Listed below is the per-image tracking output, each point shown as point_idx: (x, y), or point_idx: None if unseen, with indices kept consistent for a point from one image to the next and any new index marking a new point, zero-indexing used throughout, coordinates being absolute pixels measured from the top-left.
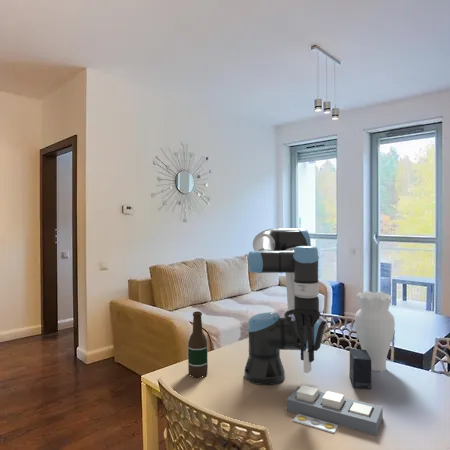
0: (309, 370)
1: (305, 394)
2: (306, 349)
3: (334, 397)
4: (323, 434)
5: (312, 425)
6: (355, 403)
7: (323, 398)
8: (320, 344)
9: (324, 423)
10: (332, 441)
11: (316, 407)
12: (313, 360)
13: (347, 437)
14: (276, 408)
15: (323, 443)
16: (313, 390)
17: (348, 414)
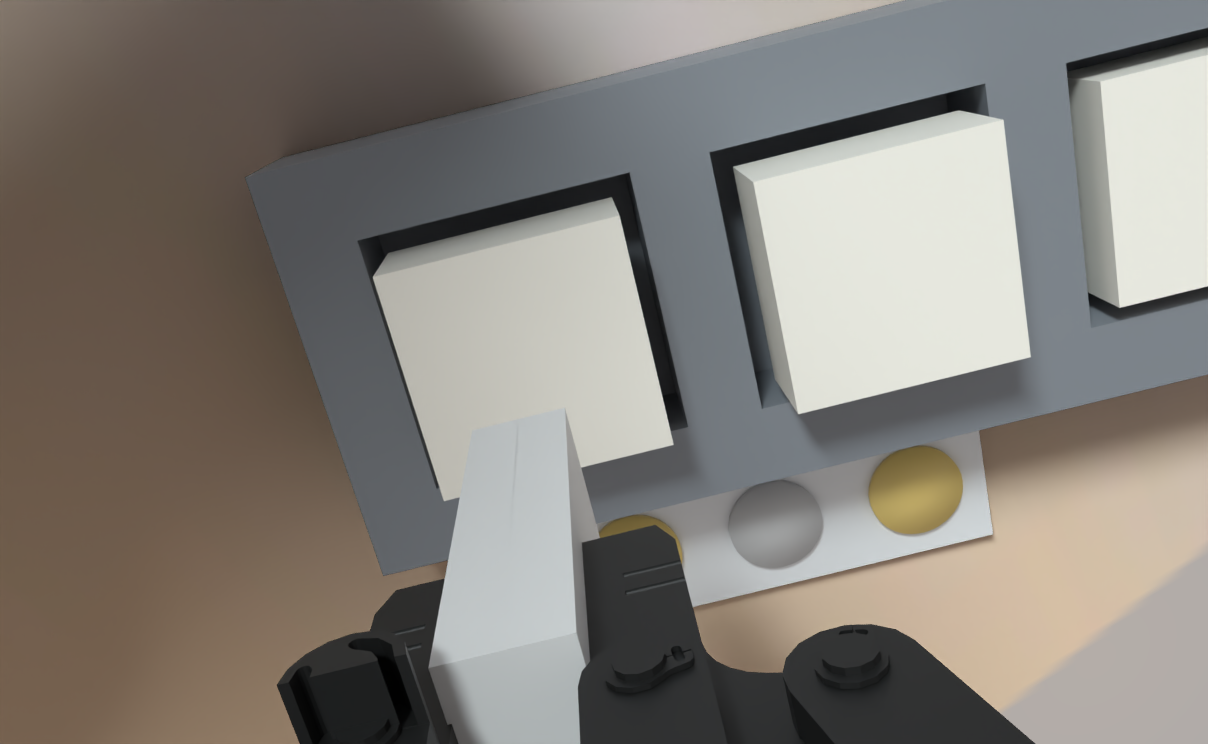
0: (591, 516)
1: None
2: (473, 721)
3: (924, 292)
4: (913, 603)
5: (780, 583)
6: (1129, 100)
7: (816, 409)
8: (988, 720)
9: (854, 477)
10: (1020, 633)
11: (756, 480)
12: (659, 531)
13: (1106, 496)
14: (292, 554)
15: None
16: (597, 317)
17: (1120, 372)
